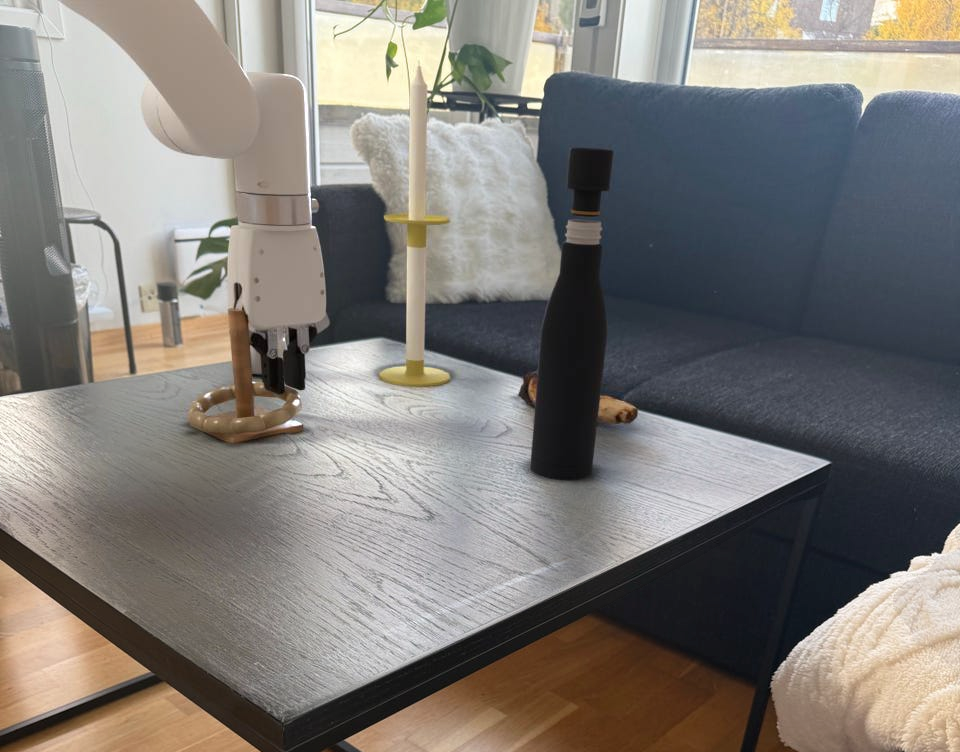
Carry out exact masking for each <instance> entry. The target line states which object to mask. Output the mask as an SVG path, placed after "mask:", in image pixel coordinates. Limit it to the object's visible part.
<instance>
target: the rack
mask: <svg viewBox="0 0 960 752" xmlns="http://www.w3.org/2000/svg"><path fill="white" fill-rule="evenodd" d="M227 317H228V328H229V330H230V333H229V341H230V352H231V364H232V365H231V366H232V375H233V376H232V377H233V385H234V389H235V399H234V400H235V410H231V411H225V412H219V413H215V414H209V415H208V416H210V417H213V418H226V419H237V418H245V417H252V416H259V415H262V414H265V413H268V412H271V411H272V410H269V409H267V408H265V407H261V406H259V405H258V406H255V397H254V392H253V382H254V380H253V378H254V377H253V373H252V365H251V352H250V339H249V325H248V315H247V314H246V313H245V310H239V309H236V308H230V309H229V308H228V309H227ZM229 330H228V331H229ZM235 332H236V336H235ZM189 425H190V426H191V427H193V428H195V429H197V430H200V431H202V432H204V433H206V434H208V435H211V436H212V437H214V438H217V439H219V440H221V441H223V442H225V443H232V444H237V443H241V442H245V441H249V440H255V439H259V438H264V437H269V436H274V435H279V434H282V433H284V434H285V433H287V434H295V433H299V432H303V431H304V424H303V423H301V422H299V421H296V420H293V419H292V418H291V419H290V420H289V421H288V422H286V423H283V424H280V425H277V426H275V427H272V428H269V429H266V430H264V431H257V432H250V433H242V434H221V433H210V432H206V431H205V430H203V429H201V428H199V427H197V426H195V425H193V424H191V422H190V421H189Z"/></svg>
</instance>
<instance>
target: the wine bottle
mask: <svg viewBox="0 0 960 752" xmlns="http://www.w3.org/2000/svg"><path fill="white" fill-rule="evenodd" d="M613 159H614V150H613V149H607V148H593V147H570V148H569V150H568V161H567V163H568V164H567V175H566V189H568V190H573V194H572V206H571V209H570V213H571V215H572V216H578V217H588V218H589V217H590V218H592V217H593V218H595V217H596V218H597V217H599V216H600V215H601V211H600V209H601V201H602V200H601V199H602V192H609V191H610V188H611V186H610V184H611V179H612V169H613V168H612V167H613ZM565 228H566V233H565V234H564V236H565V237H566V240H564V241H563V242H562V243H561V250H560V251H561V252H560V262H559V263H560V265H559V272H558V276H557V278H556V281H555V283H554V286H553V288H552V291H551V293H550V296H549V299H548V301H547V305H546V308H545V311H544V314H543V319H542V324H541V327H540V337H539V350H538V363H537V371H538V374H537V387H536V400H535V406H534V413H533V427H532V437H531V438H532V439H531V440H532V441H531V452H530V453H531V454H530V466H529V467H530V471H531V472H532V473H533V474H535V475H537V476H540V477H543V478H546V479H551V480H558V481H578V480H582V479H586V478H588V477H590V476H591V474H592V472H593V463H594V455H595V446H596V440H597V439H596V437H597V430H598V423H597V421H598V412H599V404H600V395H602V384H603V376H604V367H605V359H606V351H607V350H606V349H607V340H608V320H607V319H608V318H607V309H606V308H607V307H606V301H605V295H604V292H603V291H604V290H603V286H602V281H601V277H600V276H601V275H600V274H601V267H602V256H603V248H604V247H603V244H601V243H600V240H601V239H602V236H601V231H603V227H602V222H601V221H598V220H591V219H568V220H567V224H566V225H565Z"/></svg>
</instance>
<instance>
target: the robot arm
mask: <svg viewBox="0 0 960 752" xmlns="http://www.w3.org/2000/svg"><path fill="white" fill-rule="evenodd" d="M58 1H59V2H60V3H61V4H62V5H64V6H65V7H66V8H68V9H69V10H71V11H73V12H74V13H76V14H77V15H79V16H81V17H82V18H84V19H86V20H87V21H89V22H90V23H92V24H93V25H94V26H96V27H97V28H98V29H100V30H101V31H102V32H103V33H104V34H106V35H107V36H108V38H110V39H111V40H113V41H114V42H115V43H116V44H117V45H118V47H120V48H121V49H122V50H123V51H124V52H125V53H126V54H127V55H128V57H129V58H130V59H131V60H132V61H133V62H134V63H135V64H136V65H137V67H138V68H139V69H140V70H141V71H142V72H143V73H144V75H145V76H146V77H147V78H148V79H147V80H146V82H145V84H144V86H143V89H142V92H141V96H140V110H141V114H142V118H143V121H144V123H145V125H146V127H147V129H148V131H149V132H150V133H151V134H152V136H153V137H154V138H155V139H156V140H158V142H159V143H161V144H162V145H164V146H165V147H166V148H168V149H170V150H172V151H174V152H177V153H180V154H183V155H190V156H195V157H205V158H207V157H208V158H212V159H219V160H229V159H233V169H234V171H233V172H234V181H235V182H234V185H235V196H236V197H235V199H236V209H237V223H238V224H237V225H231V226H230V232H229V240H228V247H227V249H228V250H227V271H226V272H227V273H226V275H227V278H226V279H227V280H226V281H227V282H226V283H227V285H226V287H227V306H228V307H227V308H228V309H230V308H236V309H239V310H245V313H246V314H247V315H248V323H250V325H251V326H252V327H253V328H254V332H253V331H250V330H249V339H250V345H251V346H252V347H253V348H254V349H255V351H256V353H258V354H260V356H261V370H262V375H261V382H263V383H264V387H265V389H266V390H268V391H271V392H274V393H276V394H283V393H284V392H285V386H287V387H289V388H292V389H294V390H296V391H299V392H300V391H304V390H306V377H307V375H306V373H307V372H306V354H308V353H309V351H310V345H311V344H312V342H313V341H314V339H315V338H316V336H317V335H318V334H320V333H322V331H324V330H326V329H327V328H328V327H330V323H331V321H330V318H329V316H328V314H327V311H326V310H327V291H326V289H327V288H326V277H325V267H324V261H323V254H322V248H321V243H320V238H319V234H318V230H317V227H316V226H314V225H313V224H312V222H313V221H312V220H313V216H312V214H315V213H316V214H317V213H318V212H319V210H320V204H319V201H318V200H317V199H316V198H312V194H311V176H310V175H311V174H310V151H309V150H310V149H309V126H308V123H309V122H308V99H307V92H306V88H305V85H304V83H303V82H302V80H300V79H299V78H298V77H296V76H294V75H291V74H285V73H275V72H262V71H261V72H259V71H244V69H243V68H242V66H241V64H240V63H239V61H238V60H237V58H236V57H235V55H234V54H233V52H232V51H231V49H230V48H229V46H228V45H227V43H226V42H225V40H224V39H223V37H222V35H221V34H220V33H219V31H218V30H217V28H216V26H215V25H214V24H213V23H212V21H211V19H210V18H209V17H208V15H207V14H206V13H205V11H204V9H202V7H201V6H200V5H199V4H198V3H197V1H196V0H58ZM282 327H283V328H285V341H286V346H287V349H286V350H284V352H283V359H282V358H281V357H278V340H277V328H282ZM228 332H229V334H230V330H228ZM235 336H236V332H235ZM283 365H284V367H283Z"/></svg>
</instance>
